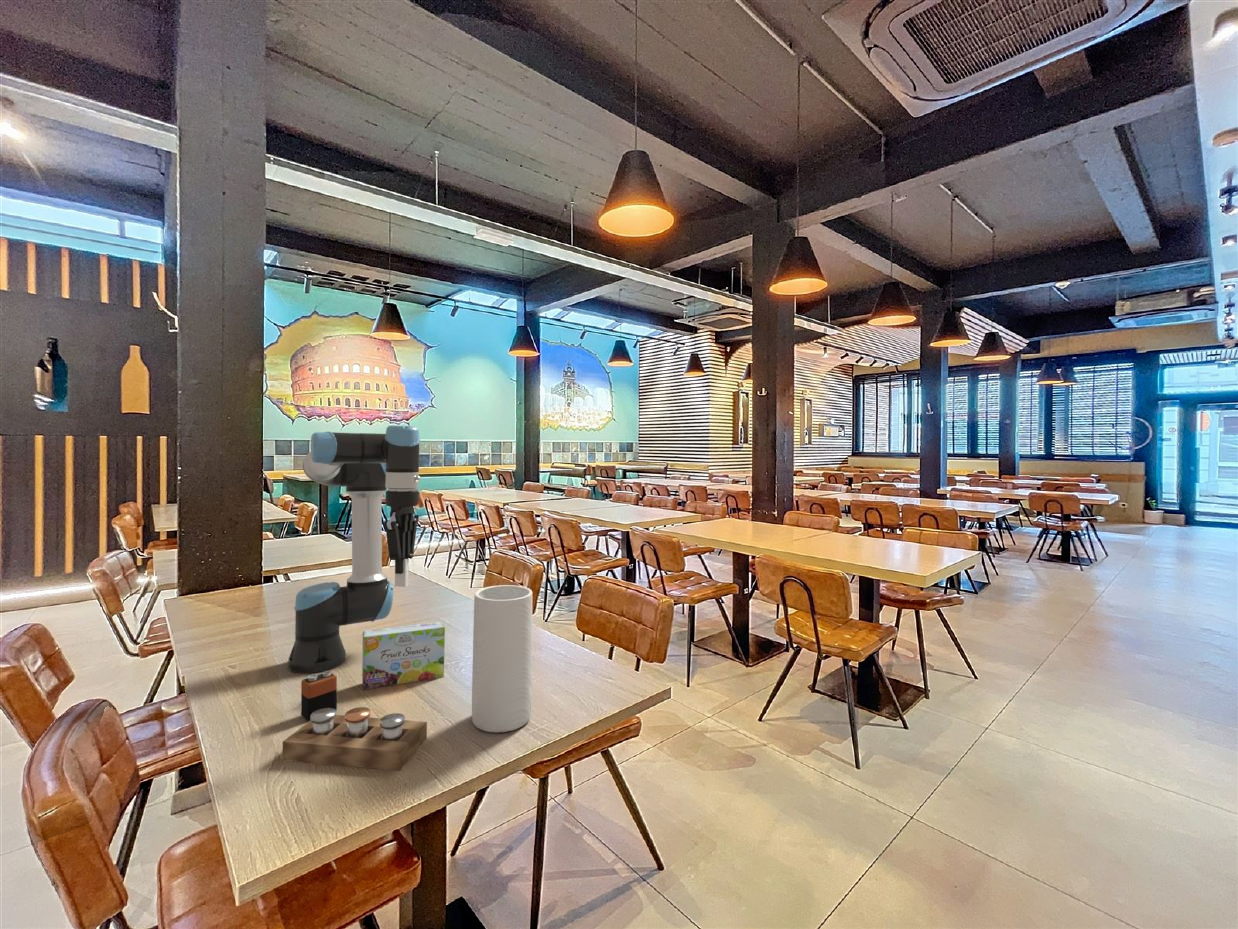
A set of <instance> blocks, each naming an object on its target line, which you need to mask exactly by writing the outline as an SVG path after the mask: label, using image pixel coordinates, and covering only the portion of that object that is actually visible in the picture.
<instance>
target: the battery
mask: <svg viewBox="0 0 1238 929" xmlns="http://www.w3.org/2000/svg"><path fill="white" fill-rule="evenodd" d="M337 677H338V676H337V675H335V674H334V673H332V672H331V671H329V670H325V671H323V673H320V674H316V673H315V674H310V675H307V677H306V678H304V679H302V680H301V681H300V682H301V684H300V685H301V686H300V687H301V690H300V693H301V694H300V696H301V701H300V702H301V703H300V704H301V706H300V707H301V708H300V710H301V712H300V713H301V716H302V717H303V718H304V719H305V720H306V721H308V722H309V721H310V715H311V714H312V713H313V712H315V711H317V710H319V709H324V708H333V709H335V710H336V711H337V709H338V703H337V702H338V698H337V697H338V696H337V695H338V694H337V693H338V684H337V683H338V680H337V679H338V678H337Z"/></svg>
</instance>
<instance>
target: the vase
mask: <svg viewBox="0 0 1238 929" xmlns="http://www.w3.org/2000/svg"><path fill="white" fill-rule="evenodd" d="M473 595H474V597H473V599H474V601H473V631H472V632H473V635H472V636H473V637H472V638H473V640H472V673H471V674H472V677H471V721H472V723H473V725H474V726H475V727H476V728H478V729H480V730H482V731H484V732H487V733H493V732H494V734H497V733H498V732H499V733H498V734H501V733H500V732H502V733H508V731H509V732H511V731H515V730H517V729H520V728H521V727H523V726H525V725H526V724H527V723H528V722H529V721H530V719H531V715H532V699H533V697H532V696H533V694H532V693H533V591H532V589H531V588H529V587H527V586H523V585H513V584H504V585H503V584H500V585H492V586H491V585H490V586H486V587H483V588H480V589H478V590H476V591H475V592H474V594H473Z"/></svg>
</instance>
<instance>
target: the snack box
mask: <svg viewBox="0 0 1238 929" xmlns="http://www.w3.org/2000/svg"><path fill="white" fill-rule="evenodd" d="M445 634H446V626H444V624H443V623H442V621H437V622H426V623H419V624H412V625H410V624H409V625H402V626H401V625H400V626H393V627H386V628H377V629H369V630H363V631H362V660H361V661H362V662H361V663H362V669H361V670H362V671H361V672H362V674H361V676H362V677H361V678H362V690H363V691H367V690H371V689H378V688H384V687H390V686H397V685H402V684H408V683H416V682H420V681H421V682H423V681H427V680H434V679H439V678H444V677H445V648H446V647H445V641H446V640H445V638H446V635H445Z"/></svg>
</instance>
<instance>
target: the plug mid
mask: <svg viewBox="0 0 1238 929" xmlns="http://www.w3.org/2000/svg"><path fill="white" fill-rule="evenodd" d="M344 715H345V721H347V737H351V738H363V737H364V736H365V735H366V734H367V733H368V718H369V717H371V708H369V707H364V706H359V707H355V708H352V709H349V710H347V711H346V712H345V713H344Z"/></svg>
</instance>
